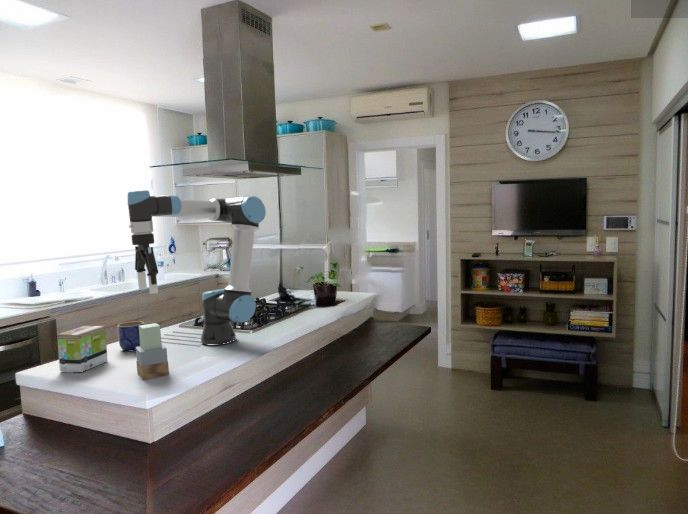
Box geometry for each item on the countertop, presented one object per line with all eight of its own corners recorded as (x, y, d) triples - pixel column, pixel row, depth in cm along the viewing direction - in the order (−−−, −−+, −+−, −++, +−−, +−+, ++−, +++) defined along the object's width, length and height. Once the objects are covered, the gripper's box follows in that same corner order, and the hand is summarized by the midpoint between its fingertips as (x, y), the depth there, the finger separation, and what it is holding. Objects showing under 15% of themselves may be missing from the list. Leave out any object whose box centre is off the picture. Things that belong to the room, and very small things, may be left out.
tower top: (162, 355, 192) (161, 342, 192) (167, 361, 185) (166, 347, 184) (136, 360, 188) (135, 347, 187) (141, 366, 180) (139, 352, 180)
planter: (150, 348, 224) (148, 322, 222) (126, 354, 216) (123, 327, 215) (139, 344, 231) (137, 319, 230) (115, 350, 223) (112, 324, 222)
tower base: (162, 369, 193) (161, 356, 192) (169, 375, 185) (168, 361, 185) (137, 374, 188) (136, 360, 187) (142, 380, 180) (141, 366, 180)
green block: (157, 344, 190) (155, 323, 189) (161, 347, 185) (160, 325, 184) (140, 347, 187) (138, 325, 186) (144, 350, 182) (142, 328, 181)
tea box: (82, 373, 192) (79, 334, 190) (59, 372, 194) (55, 334, 192) (108, 361, 206) (105, 324, 205) (86, 360, 208) (83, 324, 207)
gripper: (122, 233, 194) (128, 289, 196) (141, 235, 174) (148, 296, 176) (143, 232, 198) (148, 286, 201) (163, 233, 178) (169, 293, 181)
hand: (148, 291), depth 189 cm, fingers open, 13 cm apart
